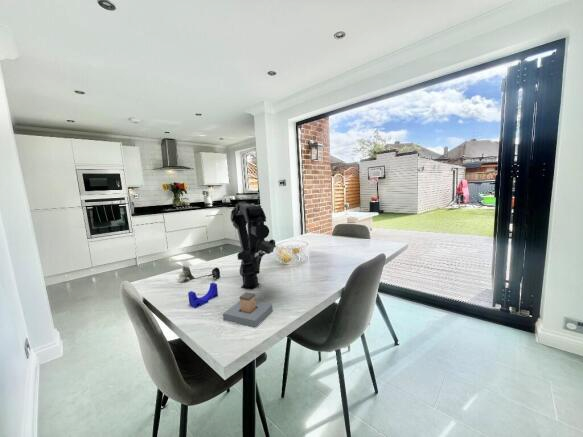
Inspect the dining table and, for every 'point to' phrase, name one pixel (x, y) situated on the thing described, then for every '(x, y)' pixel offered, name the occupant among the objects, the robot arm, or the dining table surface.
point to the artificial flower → (187, 274)
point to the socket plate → (246, 318)
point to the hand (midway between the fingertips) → (257, 270)
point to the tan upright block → (247, 302)
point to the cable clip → (198, 302)
